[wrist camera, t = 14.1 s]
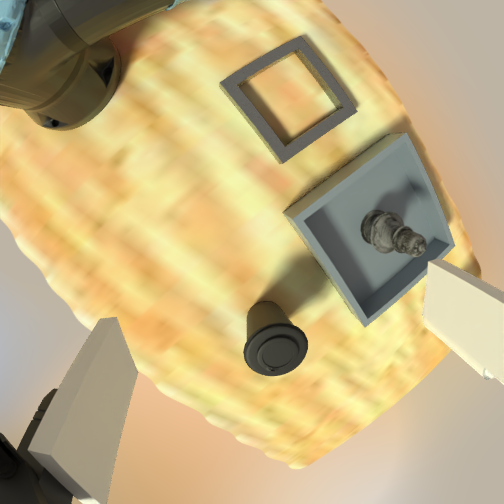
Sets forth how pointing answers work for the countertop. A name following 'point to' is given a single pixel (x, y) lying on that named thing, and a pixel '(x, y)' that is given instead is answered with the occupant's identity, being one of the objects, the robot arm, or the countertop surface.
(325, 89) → the collar
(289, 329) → the coffee cup
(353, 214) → the bin
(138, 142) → the countertop surface
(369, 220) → the dark grey tall piece
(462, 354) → the white plastic bottle
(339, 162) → the countertop surface
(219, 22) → the countertop surface
